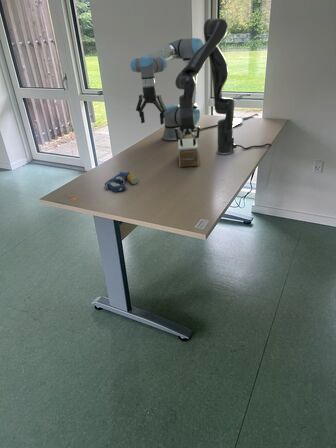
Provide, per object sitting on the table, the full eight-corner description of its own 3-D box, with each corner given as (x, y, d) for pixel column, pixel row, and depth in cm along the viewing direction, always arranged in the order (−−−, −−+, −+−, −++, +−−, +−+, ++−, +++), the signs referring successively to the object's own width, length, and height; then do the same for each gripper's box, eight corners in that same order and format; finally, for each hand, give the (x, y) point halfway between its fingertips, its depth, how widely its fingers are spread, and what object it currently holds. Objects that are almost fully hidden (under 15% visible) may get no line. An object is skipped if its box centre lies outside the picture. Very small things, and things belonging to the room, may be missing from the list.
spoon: (235, 135, 247) (235, 132, 245) (221, 135, 250) (220, 132, 249) (243, 119, 273) (243, 117, 272) (230, 119, 276) (230, 117, 275)
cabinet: (198, 165, 198) (198, 147, 193) (179, 166, 199) (178, 148, 193) (197, 154, 214) (196, 137, 208) (179, 156, 215) (178, 139, 209)
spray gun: (144, 178, 188) (122, 175, 194) (143, 171, 185) (120, 168, 192) (124, 194, 172) (101, 191, 179) (123, 187, 170) (99, 184, 176)
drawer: (198, 168, 191) (197, 153, 187) (180, 170, 192) (179, 155, 187) (196, 155, 211) (196, 141, 206) (180, 156, 211) (179, 142, 207)
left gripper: (127, 87, 195) (132, 123, 206) (164, 87, 184) (167, 126, 195) (134, 84, 201) (138, 120, 212) (170, 85, 190) (173, 122, 201)
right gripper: (173, 118, 176) (175, 149, 185) (200, 116, 175) (201, 147, 184) (173, 114, 182) (175, 144, 191) (199, 112, 181) (200, 142, 190)
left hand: (152, 123), depth 203 cm, fingers open, 13 cm apart
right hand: (188, 145), depth 187 cm, fingers open, 6 cm apart
